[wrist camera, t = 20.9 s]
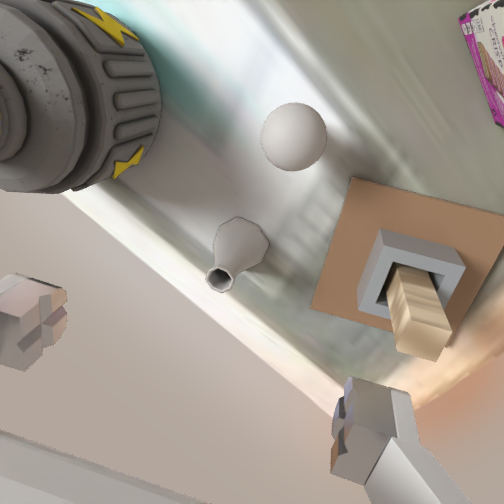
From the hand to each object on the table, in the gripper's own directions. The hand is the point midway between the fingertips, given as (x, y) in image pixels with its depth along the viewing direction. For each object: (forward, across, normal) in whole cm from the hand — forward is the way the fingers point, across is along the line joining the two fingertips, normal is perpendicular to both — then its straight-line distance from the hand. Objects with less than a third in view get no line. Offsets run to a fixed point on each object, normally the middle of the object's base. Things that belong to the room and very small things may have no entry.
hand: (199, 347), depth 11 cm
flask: (+37, +5, +15) cm, 41 cm away
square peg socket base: (+37, -15, +12) cm, 42 cm away
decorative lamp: (+37, +26, +1) cm, 46 cm away
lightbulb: (+37, +1, -1) cm, 37 cm away
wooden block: (+36, -15, +12) cm, 41 cm away
